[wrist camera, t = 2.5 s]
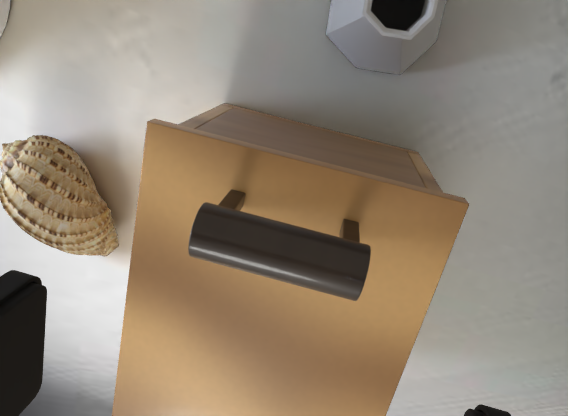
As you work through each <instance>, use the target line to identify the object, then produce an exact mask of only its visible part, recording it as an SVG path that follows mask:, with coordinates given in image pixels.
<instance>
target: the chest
mask: <svg viewBox="0 0 568 416" xmlns="http://www.w3.org/2000/svg"><path fill="white" fill-rule="evenodd" d="M178 125H181V126H185V127H189V128H193V129H197V130H200V131H204V132H208V133H212V134H216V135H220V136H224V137H228V138H232V139H236V140H240V141H243V142H247V143H251V144H255V145H259V146H263V147H267V148H271V149H275V150H279V151H282V152H286V153H290V154H294V155H298V156H302V157H306V158H310V159H314V160H318V161H322V162H325V163H329V164H333V165H337V166H341V167H345V168H349V169H353V170H357V171H361V172H364V173H368V174H372V175H376V176H380V177H384V178H388V179H392V180H396V181H400V182H404V183H407V184H411V185H415V186H419V187H423V188H427V189H431V190H435V191H439V192H443V191H442V190H441V188H440V186H439V185H438V183H437V182H436V180H435V178H434V177H433V175H432V174H431V172H430V170H429V169H428V167H427V166H426V164H425V162H424V161H423V159H422V158H421V156H420V154H419V153H418V152H416V151H412V150H408V149H404V148H400V147H396V146H392V145H388V144H384V143H380V142H376V141H372V140H368V139H364V138H360V137H356V136H352V135H348V134H344V133H340V132H336V131H332V130H329V129H325V128H321V127H317V126H313V125H309V124H305V123H301V122H297V121H293V120H289V119H285V118H281V117H277V116H273V115H269V114H265V113H261V112H257V111H253V110H249V109H245V108H241V107H237V106H233V105H229V104H226V103H224V104H221V105H219V106H217V107H215V108H212V109H210V110H208V111H206V112H204V113H202V114H200V115H198V116H195V117H193V118H191V119H189V120H187V121H185V122H183V123H180V124H178Z"/></svg>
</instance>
